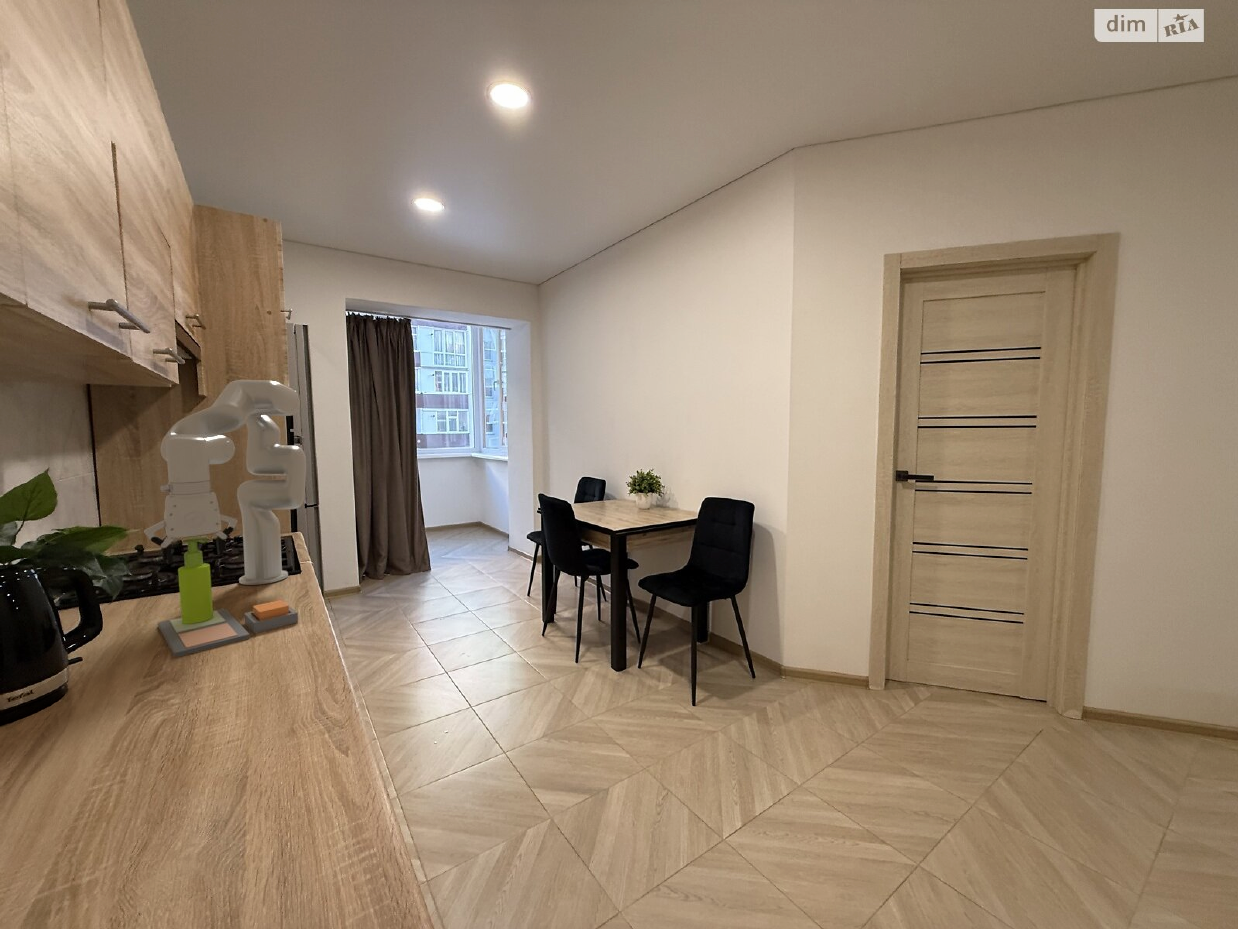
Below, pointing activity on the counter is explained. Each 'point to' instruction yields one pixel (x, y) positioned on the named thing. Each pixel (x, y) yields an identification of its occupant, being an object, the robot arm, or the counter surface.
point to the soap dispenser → (195, 585)
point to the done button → (270, 609)
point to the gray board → (202, 633)
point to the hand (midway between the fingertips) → (195, 558)
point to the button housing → (270, 621)
